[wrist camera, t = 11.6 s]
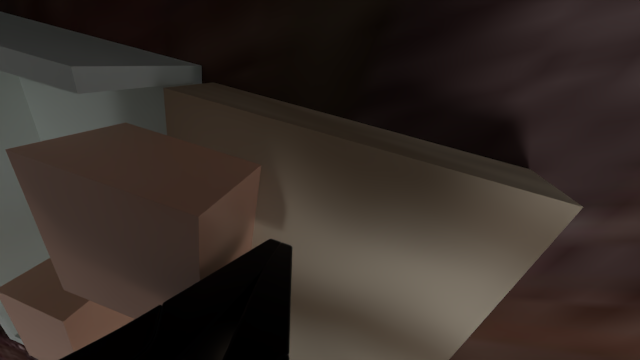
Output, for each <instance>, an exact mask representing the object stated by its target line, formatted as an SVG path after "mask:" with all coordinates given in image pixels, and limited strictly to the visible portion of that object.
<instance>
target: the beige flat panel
mask: <svg viewBox="0 0 640 360" xmlns="http://www.w3.org/2000/svg"><path fill="white" fill-rule="evenodd" d="M163 92H164V104H165V116H166V128H167V136H170V137H173V138H177V139H180V140H183V141H186V142H190V143H193V144H196V145H199V146H202V147H205V148H209V149H212V150H215V151H218V152H221V153H225V154H228V155H231V156H234V157H237V158H240V159H244V160H247V161H250V162H253V163H256V164H260V165H261V172H260V181H259V189H258V198H257V206H256V215H255V223H254V231H253V240H252V248H251V249H253V248H255V247H256V246H258V245H260V244H261V243H263V242H265V241H266V240H268V239H274V240H277V241H280V242H283V243H286V244H289V245H291V246H292V282H291V316H290V349H289V360H449V359H450V358H451V357H452V356H453V354H454V353H455V352H456V351H457V350H458V349H459V348H460V346H461V345H462V344H463V343H464V342H465V341H466V340H467V339H468V337H469V336H470V335H471V334H472V333H473V332H474V331H475V329H476V328H477V327H478V326H479V325H480V324H481V323H482V322H483V320H484V319H485V318H486V317H487V316H488V315H489V314H490V312H491V311H492V310H493V309H494V308H495V307H496V306H497V304H498V303H499V302H500V301H501V300H502V299H503V298H504V297H505V295H506V294H507V293H508V292H509V291H510V290H511V289H512V287H513V286H514V285H515V284H516V283H517V282H518V281H519V279H520V278H521V277H522V276H523V275H524V274H525V273H526V272H527V270H528V269H529V268H530V267H531V266H532V265H533V264H534V262H535V261H536V260H537V259H538V258H539V257H540V256H541V255H542V253H543V252H544V251H545V250H546V249H547V248H548V247H549V245H550V244H551V243H552V242H553V241H554V240H555V239H556V237H557V236H558V235H559V234H560V233H561V232H562V231H563V230H564V228H565V227H566V226H567V225H568V224H569V223H570V222H571V220H572V219H573V218H574V217H575V216H576V215H577V214H578V213H579V211H580V210H581V209H582V208H583V207H582V206H581V205H580V204H578V203H577V202H575V201H574V200H573V199H571V198H570V197H568V196H567V195H566V194H564V193H563V192H561V191H560V190H558V189H557V188H556V187H554V186H553V185H551V184H550V183H549V182H547V181H546V180H544V179H543V178H542V177H540V176H539V175H537V174H536V173H535V172H533V171H532V170H530V169H527V168H523V167H519V166H516V165H512V164H509V163H505V162H501V161H498V160H494V159H490V158H487V157H483V156H479V155H476V154H472V153H469V152H465V151H461V150H458V149H454V148H450V147H447V146H443V145H439V144H436V143H432V142H428V141H425V140H421V139H418V138H414V137H410V136H407V135H403V134H399V133H396V132H392V131H388V130H385V129H381V128H378V127H374V126H370V125H367V124H363V123H359V122H356V121H352V120H348V119H345V118H341V117H338V116H334V115H330V114H327V113H323V112H319V111H316V110H312V109H308V108H305V107H301V106H298V105H294V104H290V103H287V102H283V101H279V100H276V99H272V98H268V97H265V96H261V95H258V94H254V93H250V92H247V91H243V90H239V89H236V88H232V87H228V86H225V85H221V84H217V83H214V82H212V83H203V84H193V85H184V86H175V87H165V88H163Z"/></svg>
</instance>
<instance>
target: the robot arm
mask: <svg viewBox="0 0 640 360" xmlns="http://www.w3.org/2000/svg"><path fill="white" fill-rule="evenodd" d="M291 282H292V246H291V245H289V244H286V243H283V242H280V241H277V240H274V239H268V240H266V241H265V242H263V243H261V244H260V245H258V246H256V247H255V248H253V249H251V250H250V251H248V252H246V253H245V254H243V255H241V256H240V257H238V258H236V259H235V260H233V261H231V262H230V263H228V264H226V265H225V266H223V267H221V268H220V269H218V270H217V271H215V272H213V273H212V274H210V275H208V276H207V277H205V278H203V279H202V280H200V281H198V282H197V283H195V284H193V285H192V286H190V287H188V288H187V289H185V290H183V291H182V292H180V293H178V294H177V295H175V296H173V297H172V298H170V299H168V300H167V301H165V302H163V304H162V305H158V306H156V307H155V308H153V309H151V310H150V311H148V312H146V313H145V314H143V315H141V316H140V317H138V318H136V319H134V320H133V321H131V322H129V323H127V324H126V325H124V326H122V327H120V328H119V329H117V330H115V331H113V332H111V333H109V334H107V335H105V336H104V337H102V338H100V339H98V340H96V341H94V342H92V343H90V344H88V345H86V346H85V347H83V348H81V349H79V350H77V351H75V352H73V353H71V354H69V355H67V356H65V357H63V358H61V359H59V360H289V349H290V316H291Z"/></svg>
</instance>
